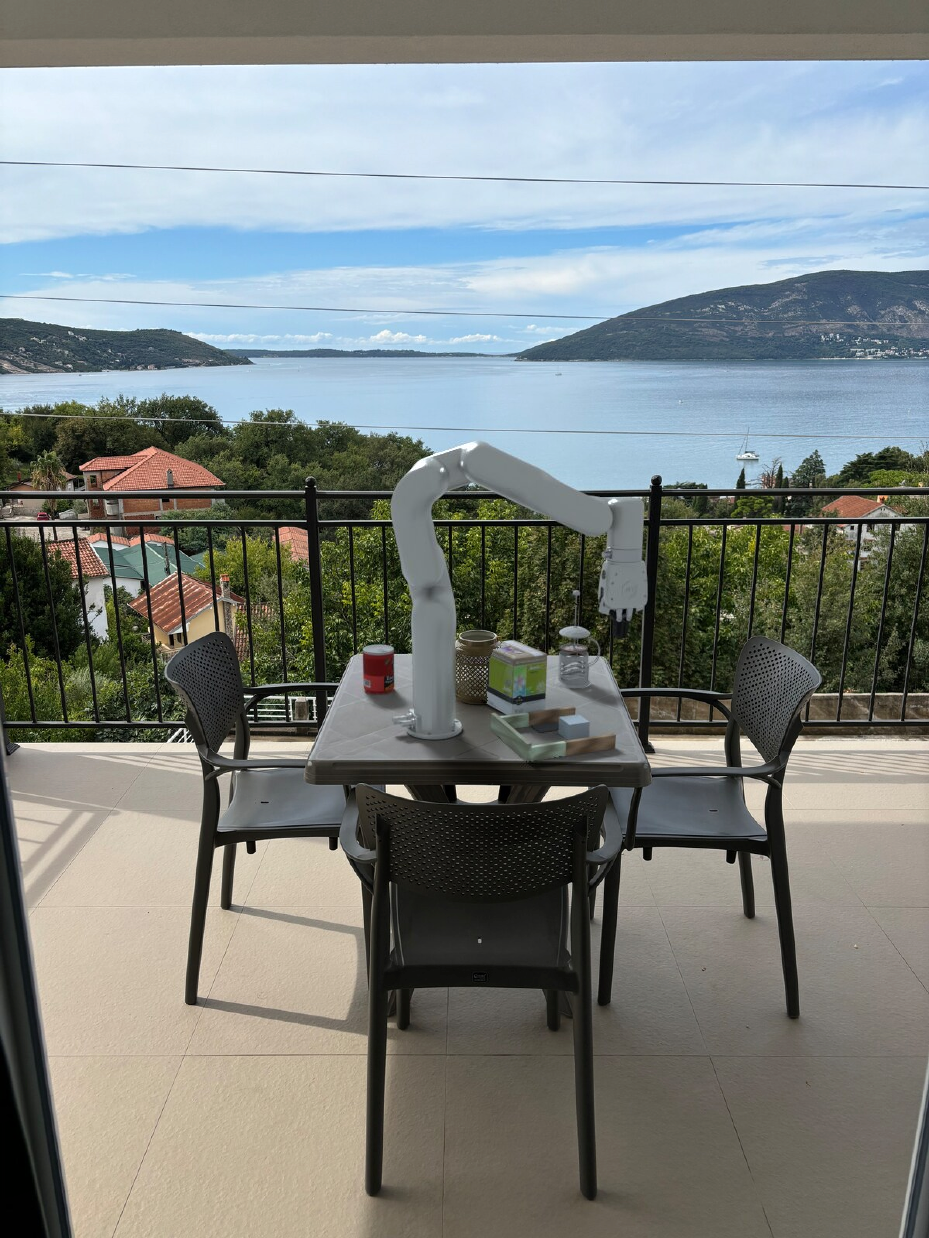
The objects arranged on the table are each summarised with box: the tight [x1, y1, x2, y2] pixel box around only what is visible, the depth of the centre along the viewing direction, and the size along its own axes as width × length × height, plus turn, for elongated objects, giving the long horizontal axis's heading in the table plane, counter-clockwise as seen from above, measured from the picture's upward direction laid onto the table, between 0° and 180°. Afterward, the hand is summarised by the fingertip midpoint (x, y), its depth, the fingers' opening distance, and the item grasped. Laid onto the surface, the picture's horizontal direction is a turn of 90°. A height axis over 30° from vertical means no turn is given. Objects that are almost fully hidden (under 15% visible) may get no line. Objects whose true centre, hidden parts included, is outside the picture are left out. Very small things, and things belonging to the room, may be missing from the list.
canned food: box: [362, 644, 395, 695], centre depth 222 cm, size 8×8×11 cm
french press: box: [553, 589, 601, 689], centre depth 227 cm, size 10×12×25 cm
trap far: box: [530, 722, 559, 734], centre depth 198 cm, size 6×4×1 cm
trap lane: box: [490, 705, 617, 763], centre depth 192 cm, size 21×19×4 cm
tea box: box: [486, 639, 548, 715], centre depth 210 cm, size 15×10×15 cm, turn 30°
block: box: [557, 714, 591, 741], centre depth 194 cm, size 5×5×4 cm
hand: (620, 637), depth 192 cm, fingers closed
